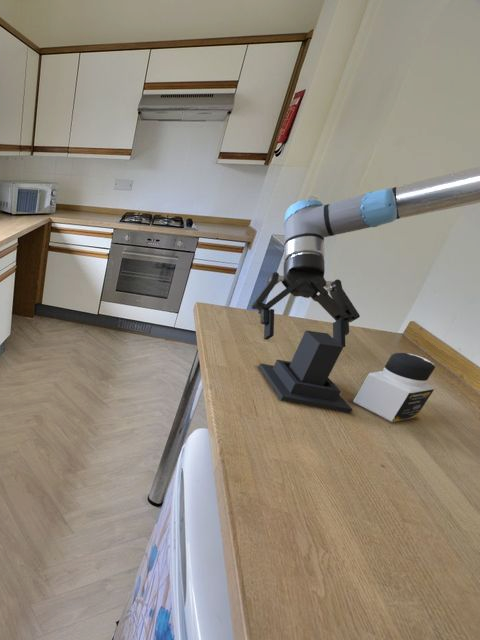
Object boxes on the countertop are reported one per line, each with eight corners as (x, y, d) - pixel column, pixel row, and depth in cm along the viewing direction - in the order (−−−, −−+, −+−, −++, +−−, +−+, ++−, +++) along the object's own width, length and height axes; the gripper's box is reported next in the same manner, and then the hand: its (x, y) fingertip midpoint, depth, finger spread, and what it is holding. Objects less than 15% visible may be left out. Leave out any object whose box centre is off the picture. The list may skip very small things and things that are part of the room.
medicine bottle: (392, 422, 78) (425, 368, 73) (351, 402, 85) (380, 350, 79) (416, 418, 80) (451, 365, 75) (375, 397, 86) (404, 347, 81)
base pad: (317, 377, 94) (324, 363, 92) (350, 413, 81) (358, 398, 79) (258, 366, 97) (263, 353, 95) (280, 400, 84) (287, 386, 82)
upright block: (305, 378, 91) (327, 333, 86) (319, 394, 85) (343, 347, 80) (285, 374, 92) (305, 330, 87) (297, 390, 86) (319, 343, 81)
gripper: (354, 275, 98) (358, 358, 91) (238, 262, 104) (233, 338, 98) (378, 258, 91) (383, 346, 84) (251, 245, 97) (248, 327, 91)
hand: (303, 342), depth 91 cm, fingers open, 13 cm apart
